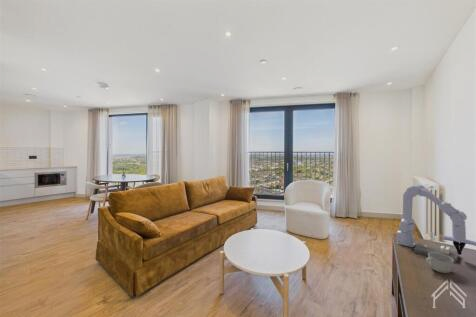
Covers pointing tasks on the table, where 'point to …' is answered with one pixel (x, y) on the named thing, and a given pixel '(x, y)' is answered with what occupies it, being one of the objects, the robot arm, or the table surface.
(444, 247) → the fader
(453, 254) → the console
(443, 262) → the teacup
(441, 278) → the table surface
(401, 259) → the table surface
